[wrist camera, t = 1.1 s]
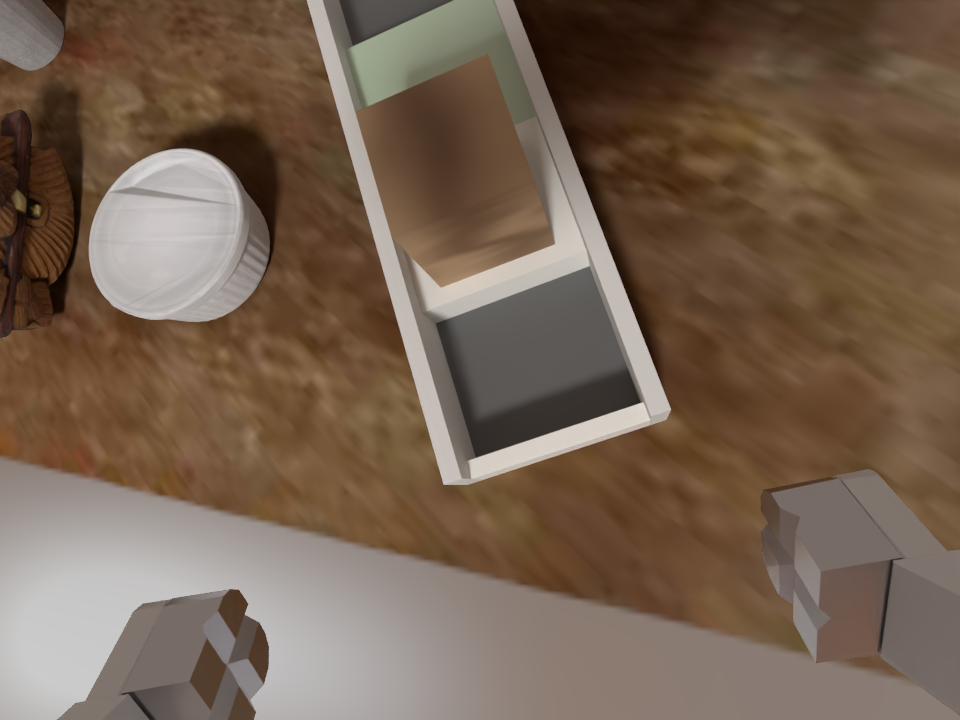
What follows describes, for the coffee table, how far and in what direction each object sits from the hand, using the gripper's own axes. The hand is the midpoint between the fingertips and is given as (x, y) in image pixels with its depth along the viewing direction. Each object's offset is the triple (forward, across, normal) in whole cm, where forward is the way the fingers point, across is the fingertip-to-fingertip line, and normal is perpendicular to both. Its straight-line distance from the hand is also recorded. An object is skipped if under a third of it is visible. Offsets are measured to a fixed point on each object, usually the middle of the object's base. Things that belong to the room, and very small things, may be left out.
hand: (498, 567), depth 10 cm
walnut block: (+30, 0, +3) cm, 30 cm away
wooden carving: (+41, +32, +2) cm, 52 cm away
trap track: (+36, 0, +2) cm, 36 cm away
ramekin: (+37, +19, +4) cm, 42 cm away
